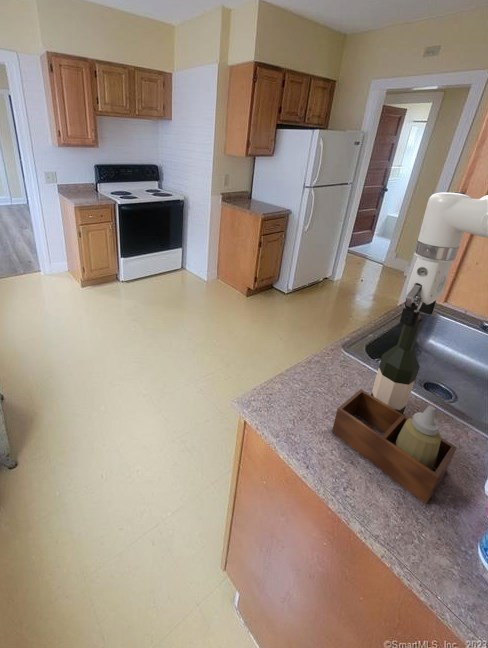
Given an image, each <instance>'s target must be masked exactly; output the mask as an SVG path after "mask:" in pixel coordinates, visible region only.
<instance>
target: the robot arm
mask: <svg viewBox="0 0 488 648" xmlns="http://www.w3.org/2000/svg"><path fill="white" fill-rule="evenodd" d="M422 219H423V220H422V222H421V227H420V231H419V234H418V238H417V242H416V245H415V250H414V253H413V254H414V256H416V257H417V258H416V260H415V262H414V265H413V268H412V271H411V274H410V278H409V280H408V284H407V288H406V293H405V301H404V305H403V308H402V311H401V315H400V319H399V323H400V324H405V325H407V326H410V327H412V328H414V327H416V324H417V320H418V317H419V315H421V314H420V313H424V314H426V315H430V316H431V315H433V312H434V309H435V306H436V303H437V300H439V299H440V298H441V297H442V296H443V295H444V293H445V290H446V286H447V283H448V279H449V274H450V271H451V265H452V263H454V262H456V258H457V255H458V251H459V248H460V245H461V242H462V239H463V236H464V234H465V233H467V234H470V235H474V236H477V237H481V238H487V239H488V194H487V195H485V196H483V197H481V198H472V197H471V196H469V195H467V194H464V193H463V194H462V193H455V192H437V193H433V194H432V195H431V196H430V197H429V198H428V201H427V204H426V208H425V211H424V215H423V218H422ZM415 302H416V303H417V304H416V303H415Z"/></svg>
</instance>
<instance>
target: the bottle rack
mask: <svg viewBox="0 0 488 648" xmlns="http://www.w3.org/2000/svg"><path fill="white" fill-rule="evenodd" d="M355 416H357V417H358V418H360V419H361V420H363V422H362V421H361V420H360V419H358V418H357V417H355ZM409 418H410V417H408V416H406V415H405V414H401V413H400V412H398V411H396V410H395V409H393V408H391V407H390V406H388V405H387V404H385V403H383V402H382V401H380V400H378V399H377V398H375V397H373V396H372V395H371V394H370V393H369V392H367V391H365V390H364V389H362V388H360V389H359V390H358V391H356V392H355V393H354V394H353V395H351V396H350V397H349V398H348V399H347V400H346V401H344V402H343V403H342V404H341V405H340V406H338V407H337V408H336V413H335V417H334V422H333V426H332V430H331V433H332V434H333V435H334V436H336V437H337V438H338V439H340V440H341V441H342V442H344V443H345V444H347V445H348V446H349V447H351V449H353V450H354V451H356V452H357V453H358V454H359V455H361V456H362V457H364V458H365V459H366V460H368V461H369V462H370V463H372V464H373V465H374V466H375V467H376V468H378V469H379V470H380V471H382V472H383V473H385V475H387V476H388V477H390V478H391V479H392V480H394V481H395V482H396V483H398V484H400V486H401V487H403V488H404V489H406V490H407V491H408V492H410V493H411V494H412V495H414V496H415V497H416V498H417V499H419V500H420V501H421V502H423V503H424V504H427V503H428V502H429V500H430V499H431V497H432V496H433V494H434V493H435V491H436V489H437V487H438V486H439V484H440V483H441V481H442V480H443V478H444V476H445V474H447V473H446V472H447V470H448V468H449V466H450V464H451V462H452V460H453V457H454V455H455V453H456V450H457V449H458V447H457V446H456V445H454V444H452V443H451V442H449V441H448V440H446V439H444V438H443V437H441V442H440V446H439V451H438V455H437V459H436V463H435V467H434V470H435V471H434V470H433V471H432V470H431V469H429V468H428V467H426V466H425V465H423V464H422V463H420V462H419V461H417V460H416V459H415V458H413V457H412V456H410V455H409V454H407V453H406V452H404V451H403V450H401V449H400V448H398V447H397V446H396V445H394V442H395V440H396V439H397V437H398V435H399V433H400V431H401V429H402V428H403V426H404V424H405V422H406V421H407V420H408V419H409ZM364 422H366V423H367V424H369V425H370V426H371V427H373V428H374V429H376V430H378V431H379V432H381V434H382V435H381V434H379V432H376V431H375V430H374V429H372V428H371V427H369V426H368V425H367V424H365V423H364Z"/></svg>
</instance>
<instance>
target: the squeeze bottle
mask: <svg viewBox="0 0 488 648" xmlns="http://www.w3.org/2000/svg"><path fill="white" fill-rule="evenodd" d="M412 416H413V417H408V418H409V419H408V420H407V421H406V422H405V424H404V426H403V428H402V429H401V431H400V433H399V435H398V437H397V439H396V440H395V442H394V445H396V446H397V447H398V448H400V449H401V450H403V451H404V452H406V453H407V454H409V455H410V456H412V457H413V458H415V459H416V460H417V461H419V462H420V463H422V464H423V465H425V466H426V467H428V468H429V469H431V470H432V471H433V472H434V470H435V468H434V467H435V463H436V459H437V455H438V451H439V446H440V442H441V438H442V435H441V433H440V431H439V430H440V429H441V428H440V427H441V425H440V423H439V421H438V420H437V419H436V408H435V407H434V406H433V405H428V406H427V407H426V408H425V409H424V411H423V412H421V411H419V412H415V413H414V414H413V415H412Z"/></svg>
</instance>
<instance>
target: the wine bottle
mask: <svg viewBox="0 0 488 648" xmlns="http://www.w3.org/2000/svg"><path fill="white" fill-rule="evenodd" d="M422 324H423V319H422V316H421V314H419V317H418V320H417V324H416V327H414V328H412V327H410V326H407V325H405V324H403V325H402V327H401V331H400V334H399V338H398V340H397V344H395V345H394V346H393V347H391V348H389V349H388V350H387V351H385V352H383V353H382V354H381V358H380V362H379V366H378V369H377V372H376V375H375V379H374V383H373V386H372V390H371V394H370V395H372V396H373V397H375V398H377V399H378V400H380V401H382V402H383V403H385V404H387V405H388V406H390V407H391V408H393V409H395V410H396V411H398V412H400V413H401V414H403V415H405V411H406V408H407V405H408V401H409V399H410V396H411V394H412V390H413V388H414V384H415V382H416V380H417V376H418V373H419V371H420V368H421V366H420V364H419V361H418V359H417V356H416V354H415V351H414V347H415V344H416V341H417V338H418V335H419V332H420V330H421V326H422Z"/></svg>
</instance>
